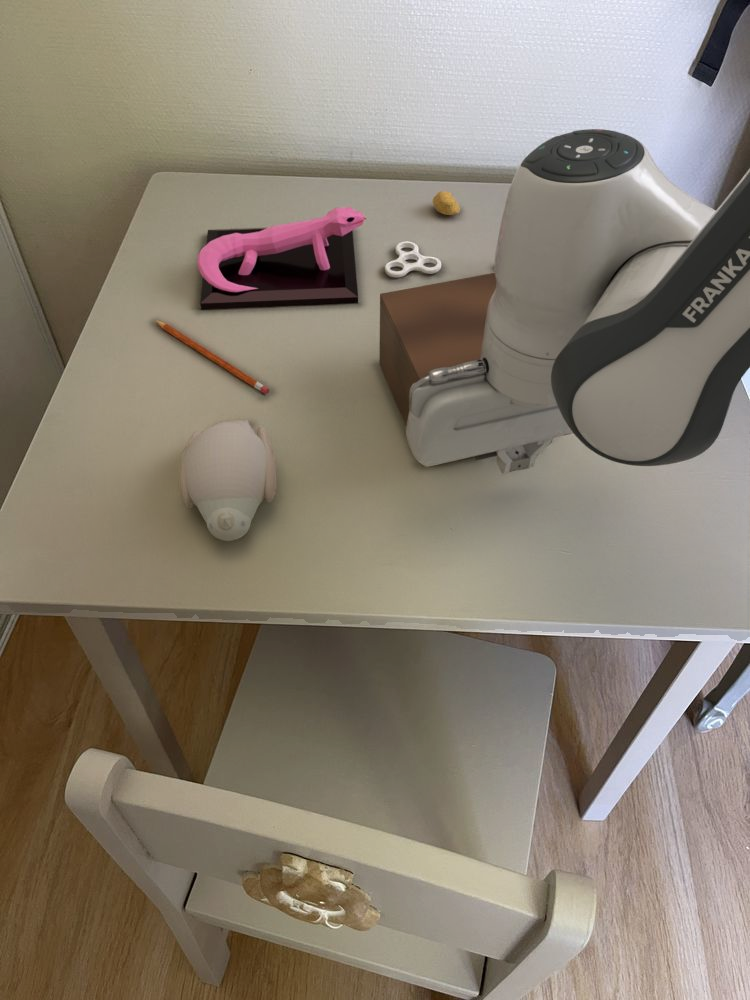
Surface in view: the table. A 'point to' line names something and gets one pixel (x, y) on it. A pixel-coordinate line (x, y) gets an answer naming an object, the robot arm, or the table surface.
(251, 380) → the pencil
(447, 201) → the rock
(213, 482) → the decorative bird
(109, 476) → the table surface
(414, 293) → the cabinet
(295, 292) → the dark display base
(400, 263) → the fidget spinner
